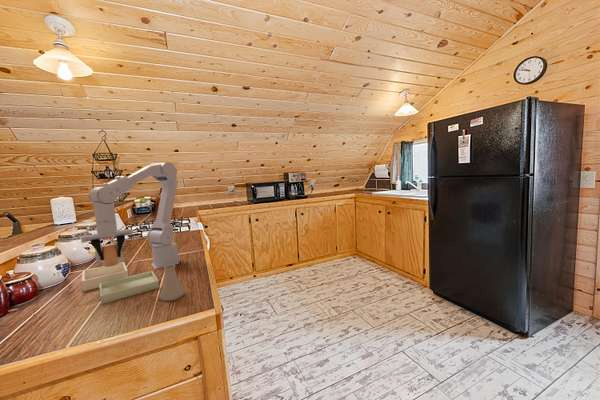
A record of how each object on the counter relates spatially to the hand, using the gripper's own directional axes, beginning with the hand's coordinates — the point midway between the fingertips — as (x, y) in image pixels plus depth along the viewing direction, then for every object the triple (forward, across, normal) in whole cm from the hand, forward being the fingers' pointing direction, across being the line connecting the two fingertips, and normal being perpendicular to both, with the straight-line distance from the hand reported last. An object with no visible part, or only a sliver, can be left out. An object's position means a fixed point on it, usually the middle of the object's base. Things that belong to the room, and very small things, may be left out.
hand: (110, 258), depth 92 cm
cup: (+10, 0, -25) cm, 27 cm away
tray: (+10, -4, +10) cm, 14 cm away
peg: (+2, 0, 0) cm, 2 cm away
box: (+10, +2, -5) cm, 11 cm away
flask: (+10, -14, +25) cm, 31 cm away
